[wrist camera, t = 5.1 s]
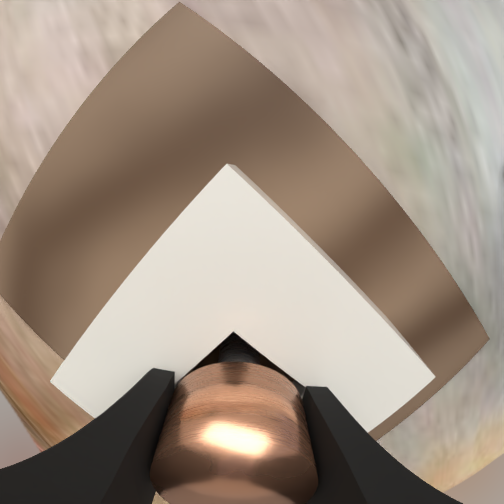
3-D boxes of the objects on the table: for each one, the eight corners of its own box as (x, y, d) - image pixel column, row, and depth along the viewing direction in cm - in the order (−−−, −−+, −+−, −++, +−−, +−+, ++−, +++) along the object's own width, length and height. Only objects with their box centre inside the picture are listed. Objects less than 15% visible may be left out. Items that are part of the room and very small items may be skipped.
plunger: (304, 329, 13) (350, 480, 5) (242, 382, 13) (239, 533, 6) (238, 270, 12) (224, 410, 5) (177, 331, 13) (121, 478, 5)
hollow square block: (387, 317, 13) (435, 376, 9) (245, 432, 15) (245, 503, 10) (235, 165, 12) (226, 163, 7) (98, 323, 13) (49, 381, 9)
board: (485, 335, 14) (489, 338, 14) (281, 492, 17) (282, 497, 17) (181, 6, 10) (179, 2, 10) (-10, 274, 13) (-15, 276, 13)
